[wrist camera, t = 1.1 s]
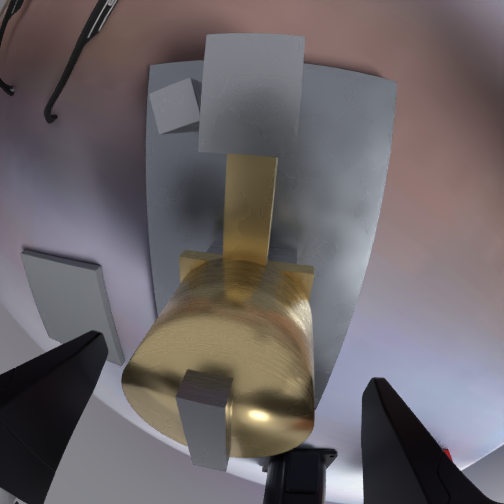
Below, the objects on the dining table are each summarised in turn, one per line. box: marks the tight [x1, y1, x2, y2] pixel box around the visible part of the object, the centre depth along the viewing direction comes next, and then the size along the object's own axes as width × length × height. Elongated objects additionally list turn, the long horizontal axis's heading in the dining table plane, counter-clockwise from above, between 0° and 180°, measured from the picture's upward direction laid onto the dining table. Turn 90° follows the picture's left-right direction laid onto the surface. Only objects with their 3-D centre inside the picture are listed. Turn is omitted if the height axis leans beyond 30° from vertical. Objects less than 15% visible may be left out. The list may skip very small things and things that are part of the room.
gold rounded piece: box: [121, 153, 314, 472], centre depth 7 cm, size 10×5×6 cm, turn 176°
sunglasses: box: [0, 0, 118, 123], centre depth 7 cm, size 11×12×5 cm
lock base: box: [146, 33, 397, 410], centre depth 11 cm, size 19×10×5 cm, turn 176°
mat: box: [20, 250, 125, 366], centre depth 17 cm, size 8×8×1 cm
